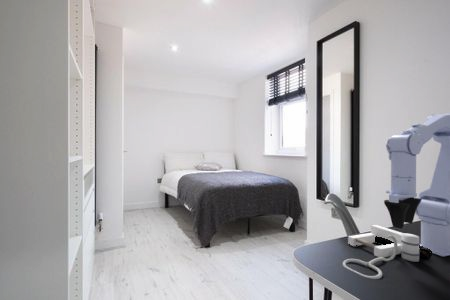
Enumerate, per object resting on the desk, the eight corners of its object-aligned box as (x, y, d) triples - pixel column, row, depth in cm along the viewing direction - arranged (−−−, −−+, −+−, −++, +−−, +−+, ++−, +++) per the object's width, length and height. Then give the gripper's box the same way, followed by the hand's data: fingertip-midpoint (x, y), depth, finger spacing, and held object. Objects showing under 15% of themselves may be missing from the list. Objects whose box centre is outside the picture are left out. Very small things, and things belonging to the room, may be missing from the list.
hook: (416, 263, 66) (374, 293, 57) (380, 250, 74) (338, 274, 65) (414, 237, 66) (371, 263, 56) (378, 227, 74) (336, 248, 64)
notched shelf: (375, 239, 84) (375, 224, 84) (409, 251, 74) (410, 235, 74) (348, 243, 79) (348, 228, 79) (380, 258, 69) (380, 240, 69)
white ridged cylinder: (406, 254, 72) (407, 232, 72) (422, 260, 68) (423, 237, 68) (397, 256, 70) (397, 234, 70) (413, 262, 66) (413, 239, 66)
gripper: (396, 174, 76) (395, 217, 76) (376, 177, 67) (376, 225, 67) (424, 176, 70) (424, 223, 70) (407, 179, 61) (406, 233, 61)
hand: (402, 224), depth 68 cm, fingers open, 7 cm apart
